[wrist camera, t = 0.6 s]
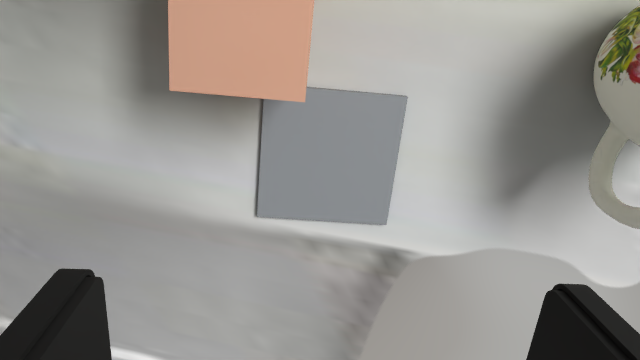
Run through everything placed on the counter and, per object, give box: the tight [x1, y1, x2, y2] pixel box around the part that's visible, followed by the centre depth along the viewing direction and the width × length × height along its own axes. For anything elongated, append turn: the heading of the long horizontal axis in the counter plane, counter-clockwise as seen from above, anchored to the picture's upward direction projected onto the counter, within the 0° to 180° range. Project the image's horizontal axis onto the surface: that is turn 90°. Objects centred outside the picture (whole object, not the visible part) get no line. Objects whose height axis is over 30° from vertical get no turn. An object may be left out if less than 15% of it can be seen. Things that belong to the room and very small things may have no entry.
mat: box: [257, 87, 408, 225], centre depth 34 cm, size 10×10×1 cm
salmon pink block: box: [168, 0, 314, 102], centre depth 26 cm, size 7×7×8 cm
